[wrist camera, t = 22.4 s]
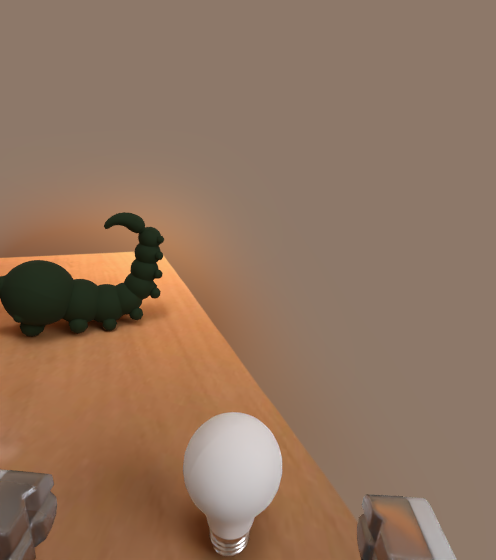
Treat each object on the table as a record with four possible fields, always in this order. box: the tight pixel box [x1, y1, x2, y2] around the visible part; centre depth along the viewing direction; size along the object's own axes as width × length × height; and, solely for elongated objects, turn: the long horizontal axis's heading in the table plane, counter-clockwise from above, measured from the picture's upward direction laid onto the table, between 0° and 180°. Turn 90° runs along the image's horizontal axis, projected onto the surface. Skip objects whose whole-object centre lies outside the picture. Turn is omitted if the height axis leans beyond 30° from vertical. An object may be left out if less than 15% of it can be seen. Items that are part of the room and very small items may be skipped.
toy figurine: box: [0, 213, 164, 337], centre depth 55 cm, size 9×19×25 cm
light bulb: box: [183, 412, 282, 557], centre depth 26 cm, size 7×7×11 cm
